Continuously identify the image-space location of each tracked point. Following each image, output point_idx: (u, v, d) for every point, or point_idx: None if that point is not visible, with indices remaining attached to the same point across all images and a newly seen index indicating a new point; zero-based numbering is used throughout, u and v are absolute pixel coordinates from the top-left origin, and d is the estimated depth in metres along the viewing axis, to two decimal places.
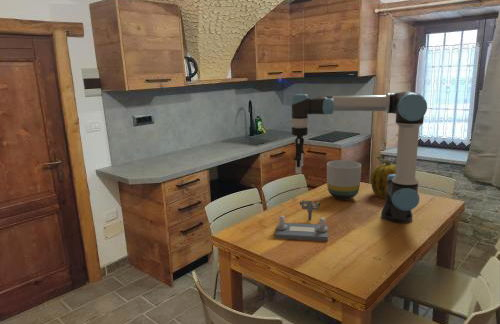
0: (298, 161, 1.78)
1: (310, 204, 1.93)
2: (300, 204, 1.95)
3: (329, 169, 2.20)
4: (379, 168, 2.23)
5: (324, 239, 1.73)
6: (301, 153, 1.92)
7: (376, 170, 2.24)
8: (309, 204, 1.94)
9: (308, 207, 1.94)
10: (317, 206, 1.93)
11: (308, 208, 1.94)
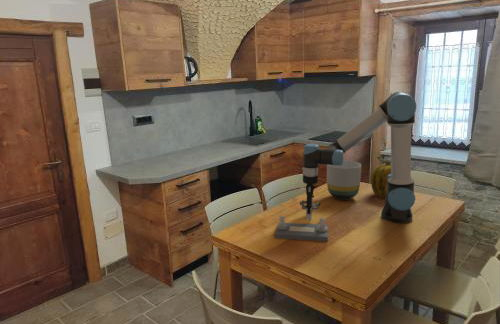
0: (309, 209, 1.87)
1: None
2: (300, 204, 1.95)
3: (329, 169, 2.20)
4: (379, 168, 2.23)
5: (324, 239, 1.73)
6: None
7: (376, 170, 2.24)
8: None
9: None
10: (317, 206, 1.93)
11: None
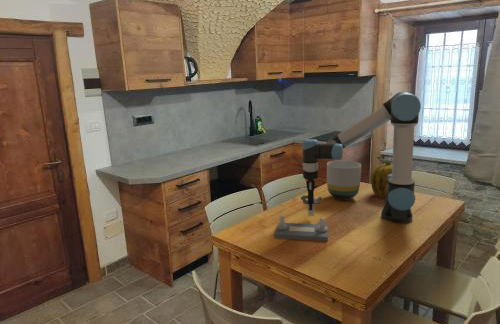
0: (310, 205, 1.91)
1: None
2: (301, 199, 1.95)
3: (329, 169, 2.20)
4: (379, 168, 2.23)
5: (324, 239, 1.73)
6: None
7: (376, 170, 2.24)
8: None
9: None
10: (318, 200, 1.92)
11: None
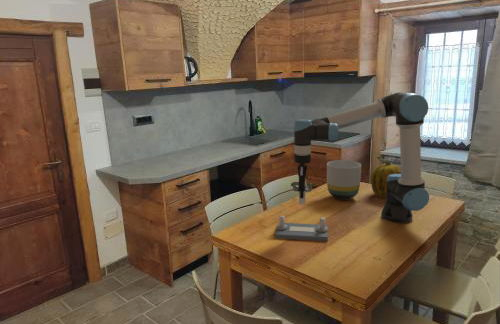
0: (301, 192, 1.73)
1: None
2: None
3: (329, 169, 2.20)
4: (379, 168, 2.23)
5: (324, 239, 1.73)
6: None
7: (376, 170, 2.24)
8: None
9: None
10: (310, 187, 1.74)
11: None
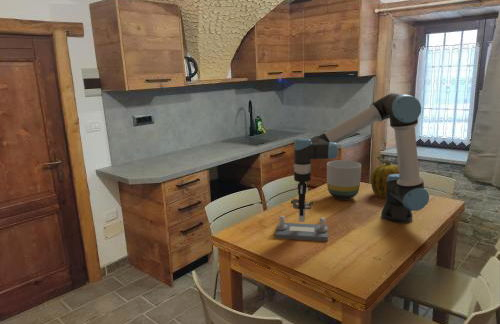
0: (301, 210, 1.75)
1: None
2: (291, 203, 1.78)
3: (329, 169, 2.20)
4: (379, 168, 2.23)
5: (324, 239, 1.73)
6: None
7: (376, 170, 2.24)
8: None
9: None
10: (310, 205, 1.76)
11: None
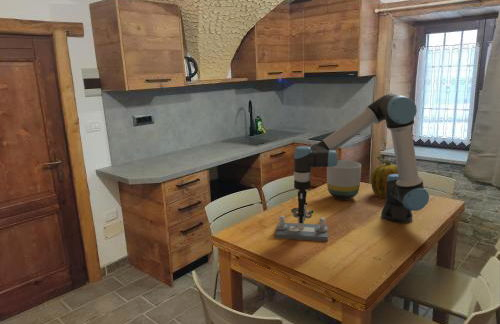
0: (301, 217, 1.71)
1: None
2: None
3: (329, 169, 2.20)
4: (379, 168, 2.23)
5: (324, 239, 1.73)
6: (304, 205, 1.85)
7: (376, 170, 2.24)
8: None
9: None
10: (310, 214, 1.77)
11: None
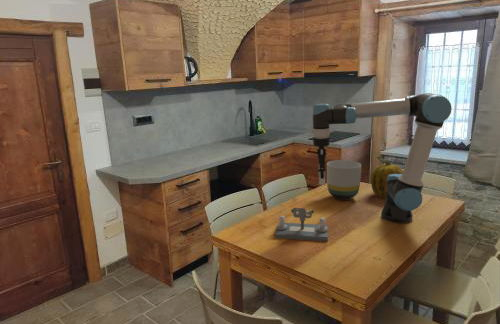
0: (322, 172, 1.74)
1: (302, 212, 1.77)
2: None
3: (329, 169, 2.20)
4: (379, 168, 2.23)
5: (324, 239, 1.73)
6: None
7: (376, 170, 2.24)
8: (301, 212, 1.77)
9: (300, 215, 1.78)
10: (310, 214, 1.77)
11: (300, 216, 1.78)
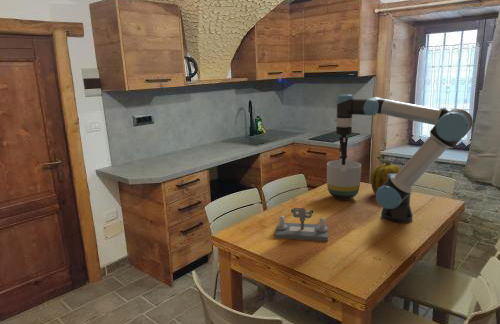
0: (343, 159, 1.85)
1: (302, 212, 1.77)
2: None
3: (329, 169, 2.20)
4: (379, 168, 2.23)
5: (324, 239, 1.73)
6: None
7: (376, 170, 2.24)
8: (301, 212, 1.77)
9: (300, 215, 1.78)
10: (310, 214, 1.77)
11: (300, 216, 1.78)
